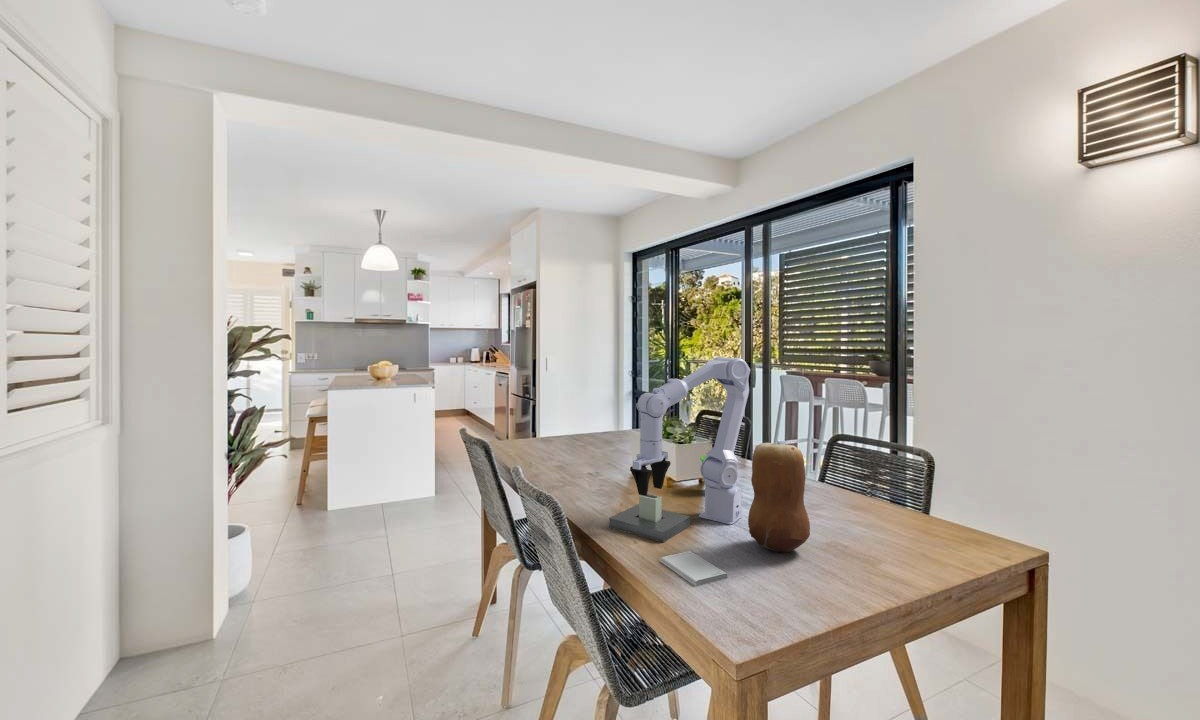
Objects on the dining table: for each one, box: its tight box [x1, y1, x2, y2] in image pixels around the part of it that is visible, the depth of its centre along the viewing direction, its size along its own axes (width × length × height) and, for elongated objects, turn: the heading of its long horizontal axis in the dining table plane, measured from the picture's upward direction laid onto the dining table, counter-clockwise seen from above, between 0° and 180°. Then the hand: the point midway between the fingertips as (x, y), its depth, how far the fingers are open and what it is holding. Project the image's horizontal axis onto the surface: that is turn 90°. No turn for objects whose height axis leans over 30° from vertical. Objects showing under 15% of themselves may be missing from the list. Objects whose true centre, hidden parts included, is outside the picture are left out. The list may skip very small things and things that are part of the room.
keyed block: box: [638, 493, 663, 522], centre depth 133 cm, size 3×5×8 cm, turn 53°
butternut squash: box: [747, 442, 811, 554], centre depth 119 cm, size 14×13×25 cm
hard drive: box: [660, 550, 728, 587], centre depth 109 cm, size 2×8×12 cm
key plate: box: [608, 503, 691, 544], centre depth 133 cm, size 16×14×2 cm
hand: (650, 491), depth 133 cm, fingers open, 7 cm apart
